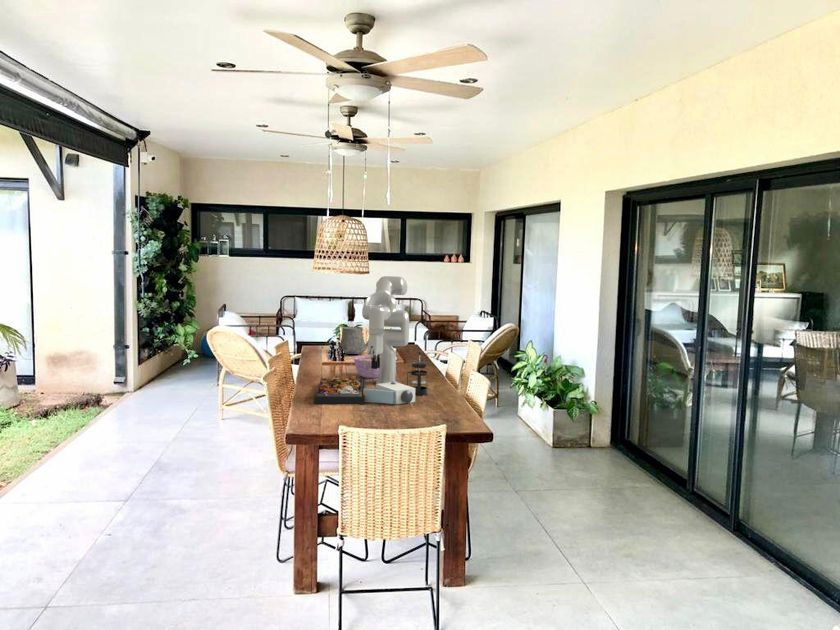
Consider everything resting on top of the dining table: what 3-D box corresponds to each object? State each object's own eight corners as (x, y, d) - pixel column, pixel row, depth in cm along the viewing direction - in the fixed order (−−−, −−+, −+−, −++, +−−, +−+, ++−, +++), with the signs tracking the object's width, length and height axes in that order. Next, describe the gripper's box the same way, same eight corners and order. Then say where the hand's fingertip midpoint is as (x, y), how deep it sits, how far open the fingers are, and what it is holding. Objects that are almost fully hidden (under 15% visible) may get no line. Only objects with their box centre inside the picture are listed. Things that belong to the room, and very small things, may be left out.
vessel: (331, 355, 456) (332, 328, 454) (344, 351, 477) (345, 325, 475) (359, 357, 450) (359, 329, 448) (371, 353, 470) (371, 326, 468)
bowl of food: (389, 374, 389) (389, 356, 388) (384, 381, 369) (384, 361, 368) (357, 373, 391) (357, 354, 390) (350, 379, 371) (350, 360, 370)
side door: (362, 401, 316) (362, 389, 315) (364, 400, 317) (364, 388, 317) (395, 404, 310) (395, 392, 310) (396, 403, 312) (396, 391, 311)
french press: (428, 392, 343) (430, 350, 341) (428, 396, 334) (430, 353, 331) (407, 391, 343) (408, 349, 341) (406, 395, 334) (407, 352, 332)
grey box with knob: (375, 397, 327) (376, 382, 327) (395, 394, 335) (395, 380, 334) (397, 405, 311) (398, 389, 311) (417, 402, 319) (417, 387, 318)
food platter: (364, 405, 311) (364, 385, 310) (313, 405, 309) (314, 384, 308) (364, 386, 356) (365, 368, 355) (320, 386, 354) (320, 368, 353)
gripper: (375, 329, 324) (374, 365, 325) (362, 333, 308) (362, 370, 310) (389, 330, 321) (388, 366, 323) (377, 334, 306) (376, 371, 308)
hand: (375, 367), depth 317 cm, fingers closed
